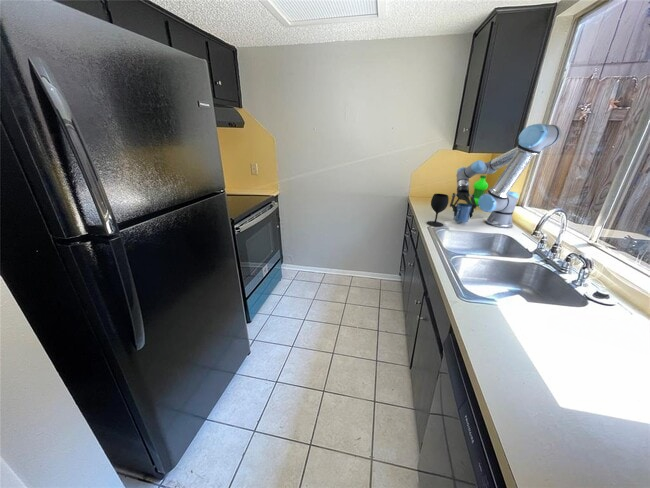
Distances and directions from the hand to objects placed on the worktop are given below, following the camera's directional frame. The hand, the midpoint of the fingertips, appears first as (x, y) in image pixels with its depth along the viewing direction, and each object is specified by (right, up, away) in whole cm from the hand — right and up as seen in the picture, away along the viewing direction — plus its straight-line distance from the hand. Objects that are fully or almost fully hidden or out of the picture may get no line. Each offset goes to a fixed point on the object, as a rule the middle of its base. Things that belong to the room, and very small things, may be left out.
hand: (463, 216), depth 173 cm
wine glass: (-19, -5, +2) cm, 19 cm away
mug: (-1, -3, +3) cm, 5 cm away
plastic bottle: (+39, +15, +52) cm, 67 cm away
